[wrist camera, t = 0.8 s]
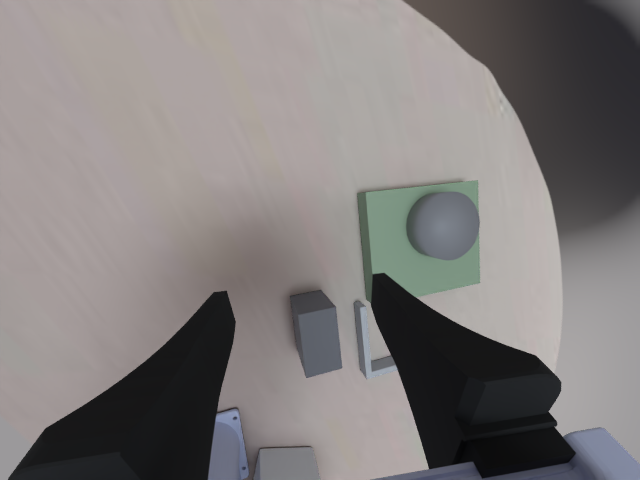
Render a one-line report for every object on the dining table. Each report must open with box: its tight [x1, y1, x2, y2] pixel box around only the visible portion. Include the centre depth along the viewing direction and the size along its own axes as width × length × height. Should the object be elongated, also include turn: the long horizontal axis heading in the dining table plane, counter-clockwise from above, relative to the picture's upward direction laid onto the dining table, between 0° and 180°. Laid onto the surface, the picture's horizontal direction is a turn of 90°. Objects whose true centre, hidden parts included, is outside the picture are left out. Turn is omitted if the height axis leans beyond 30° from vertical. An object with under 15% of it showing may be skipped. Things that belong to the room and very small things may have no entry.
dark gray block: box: [290, 290, 342, 378], centre depth 30 cm, size 7×4×6 cm, turn 7°
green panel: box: [354, 180, 480, 379], centre depth 33 cm, size 24×18×6 cm
